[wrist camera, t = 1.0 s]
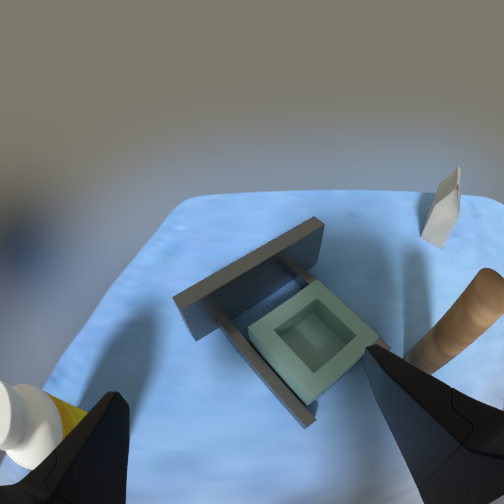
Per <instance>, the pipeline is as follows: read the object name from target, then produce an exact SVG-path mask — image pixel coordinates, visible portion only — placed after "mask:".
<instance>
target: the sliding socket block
mask: <svg viewBox="0 0 504 504" xmlns="http://www.w3.org/2000/svg"><path fill="white" fill-rule="evenodd" d="M248 334H249V343H250V345H251V346H252V347H253V348H254V350H255V351H256V352H257V353H258V354H259V356H260V357H261V358H262V359H263V360H264V361H265V363H266V364H267V365H268V366H269V367H270V368H271V370H272V371H273V372H274V373H275V374H276V375H277V376H278V378H279V379H280V380H281V381H282V382H283V383H284V384H285V386H286V387H287V388H288V389H289V390H290V391H291V392H292V393H293V394H294V396H295V397H296V398H297V399H298V400H299V401H300V402H301V403H302V404H303V405H304V406H305V408H306V407H307V406H308V405H309V404H311V403H312V402H313V401H314V400H315V399H317V398H318V397H319V396H320V395H321V394H323V393H324V392H325V391H326V390H327V389H328V388H330V387H331V386H332V385H333V384H334V383H335V382H336V381H337V380H339V379H340V378H341V377H342V376H343V375H344V374H345V373H346V372H347V371H348V370H349V369H350V368H352V367H353V366H354V365H355V364H356V363H357V362H358V361H359V360H360V359H361V358H362V357H363V356H364V353H365V348H366V347H367V346H370V345H373V344H374V343H375V342H376V341H377V339H378V338H379V337H380V336H379V335H378V334H377V333H376V332H375V331H374V330H373V329H371V328H370V327H369V326H368V325H367V324H366V323H365V322H364V321H363V320H362V319H361V318H360V317H358V316H357V315H356V314H355V313H354V312H353V311H352V310H351V309H350V308H349V307H348V306H346V305H345V304H344V303H343V302H342V301H341V300H340V299H339V298H338V297H337V296H335V295H334V294H333V293H332V292H331V291H330V290H329V289H328V288H327V287H326V286H324V285H323V284H322V283H321V282H320V281H319V280H318V279H317V280H315V281H314V282H312V283H311V284H310V285H308V286H307V287H305V288H304V289H303V290H301V291H300V292H298V293H297V294H296V295H294V296H293V297H291V298H290V299H288V300H287V301H286V302H284V303H283V304H281V305H280V306H278V307H277V308H275V309H274V310H272V311H271V312H269V313H268V314H267V315H265V316H264V317H262V318H261V319H259V320H258V321H256V322H255V323H253V324H252V325H250V326H249V327H248Z"/></svg>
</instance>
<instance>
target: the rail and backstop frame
mask: <svg viewBox="0 0 504 504" xmlns="http://www.w3.org/2000/svg"><path fill="white" fill-rule="evenodd" d="M324 225H325V224H324V223H322V222H321V221H320V220H318V219H317V218H316V217H312V218H310V219H309V220H307V221H305V222H303V223H302V224H300V225H298V226H296V227H295V228H293V229H291V230H289V231H288V232H286V233H284V234H282V235H281V236H279V237H277V238H275V239H274V240H272V241H270V242H268V243H267V244H265V245H263V246H261V247H259V248H258V249H256V250H254V251H252V252H251V253H249V254H247V255H245V256H244V257H242V258H240V259H238V260H237V261H235V262H233V263H231V264H230V265H228V266H226V267H224V268H223V269H221V270H219V271H217V272H216V273H214V274H212V275H210V276H209V277H207V278H205V279H203V280H202V281H200V282H198V283H196V284H195V285H193V286H191V287H189V288H188V289H186V290H184V291H182V292H181V293H179V294H177V295H175V296H174V297H172V298H173V300H174V302H175V304H176V306H177V308H178V310H179V312H180V314H181V316H182V318H183V321H184V323H185V325H186V327H187V329H188V330H189V332H190V333H191V335H192V336H193V338H194V339H195V341H198V340H199V339H201V338H203V337H204V336H206V335H208V334H209V333H211V332H212V331H214V330H216V329H217V328H220V329H221V331H222V332H223V333H224V334H225V336H226V337H227V338H228V340H229V341H230V342H231V343H232V345H233V346H234V347H235V349H236V350H237V351H238V352H239V354H240V355H241V356H242V357H243V359H244V360H245V361H246V362H247V363H248V365H249V366H250V367H251V368H252V370H253V371H254V372H255V373H256V374H257V376H258V377H259V378H260V379H261V380H262V382H263V383H264V384H265V385H266V386H267V388H268V389H269V390H270V391H271V392H272V393H273V395H274V396H275V397H276V398H277V399H278V400H279V401H280V403H281V404H282V405H283V406H284V407H285V408H286V409H287V410H288V412H289V413H290V414H291V415H292V416H293V417H294V418H295V419H296V420H297V422H298V423H299V424H300V425H301V426H302V427H303V428H304V429H306V428H307V427H308V426H309V425H311V424H312V423H313V422H314V421H316V420H317V419H316V418H315V417H314V416H313V415H312V414H311V413H310V412H309V411H308V410H307V409H306V408H305V407H304V406H303V404H302V403H301V402H300V401H299V400H298V399H297V398H296V397H295V396H294V395H293V393H292V392H291V391H290V390H289V389H288V388H287V387H286V386H285V385H284V383H283V382H282V381H281V380H280V379H279V378H278V377H277V375H276V374H275V373H274V372H273V371H272V370H271V369H270V367H269V366H268V365H267V364H266V363H265V362H264V360H263V359H262V358H261V357H260V356H259V355H258V353H257V352H256V351H255V350H254V349H253V347H252V346H251V345H250V344H249V343H248V341H247V340H246V339H245V338H244V337H243V335H242V334H241V333H240V332H239V330H238V329H237V328H236V327H235V326H234V324H233V323H232V322H231V321H230V320H232V319H233V318H235V317H236V316H238V315H240V314H241V313H243V312H244V311H246V310H247V309H249V308H250V307H252V306H254V305H255V304H257V303H258V302H260V301H261V300H263V299H264V298H266V297H267V296H269V295H270V294H272V293H274V292H275V291H277V290H278V289H280V288H281V287H283V286H284V285H286V284H287V283H289V282H290V281H291V280H293V279H294V280H295V281H296V282H297V283H298V284H299V285H300V286H301V287H302V288H303V289H304V288H305V287H307V286H308V285H310V284H311V283H312V282H314V281H315V280H316V279H315V278H314V277H313V276H312V275H311V274H310V273H308V272H307V271H306V270H308V269H309V268H311V267H312V266H313V265H315V264H316V263H317V261H318V256H319V251H320V246H321V241H322V236H323V230H324ZM374 344H378V345H380V346H381V347H383V348H385V349H387V350H388V351H389V350H390V349H391V348H390V347H389V346H388V345H387V344H386V343H385V342H384V341H383V340H382V339H381V338H380V337H379V338H378V339H377V341H376V342H375V343H374Z"/></svg>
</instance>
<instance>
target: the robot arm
mask: <svg viewBox="0 0 504 504" xmlns="http://www.w3.org/2000/svg"><path fill="white" fill-rule="evenodd" d="M364 368H365V371H366V374H367V376H368V379H369V382H370V385H371V387H372V390H373V393H374V396H375V398H376V401H377V404H378V406H379V408H380V410H381V412H382V414H383V416H384V418H385V420H386V422H387V424H388V426H389V428H390V430H391V432H392V434H393V436H394V438H395V440H396V442H397V445H398V447H399V449H400V451H401V453H402V455H403V457H404V459H405V461H406V464H407V466H408V468H409V470H410V472H411V475H412V477H413V479H414V481H415V483H416V486H417V488H418V491H419V493H420V495H421V497H422V500H423V502H424V504H504V411H502V410H500V409H497V408H495V407H492V406H490V405H487V404H485V403H482V402H480V401H478V400H475V399H473V398H471V397H469V396H467V395H465V394H463V393H461V392H459V391H458V390H456V389H454V388H451V387H450V386H449V385H447V384H445V383H443V382H442V381H440V380H438V379H436V378H435V377H433V376H431V375H430V374H428V373H426V372H424V371H423V370H421V369H419V368H417V367H416V366H414V365H412V364H411V363H409V362H407V361H405V360H404V359H402V358H400V357H399V356H397V355H395V354H393V353H392V352H390V351H388V350H387V349H385V348H383V347H381V346H380V345H378V344H373V345H370V346H367V347H366V348H365V353H364ZM129 414H130V409H129V405H128V403H127V402H126V401H125V400H124V398H123V397H122V396H121V394H120V393H119V392H117V391H110V392H107V393H106V394H105V395H104V397H103V398H102V399H101V400H100V401H99V402H98V403H97V404H96V405H95V406H94V407H93V408H92V409H91V410H90V411H89V412H88V414H87V415H86V416H85V417H84V418H83V419H82V420H81V421H80V422H79V423H78V424H77V425H76V426H75V427H74V429H73V430H72V431H71V432H70V433H69V434H68V435H67V436H66V437H65V438H64V439H63V440H62V441H61V442H60V444H59V445H58V446H57V447H56V448H55V449H54V450H53V451H52V452H51V453H50V454H49V455H48V456H47V457H46V458H45V459H44V460H43V461H42V462H41V463H40V464H39V465H38V466H37V467H36V468H35V469H34V470H32V471H31V472H30V473H29V474H28V475H27V476H26V477H24V478H23V479H22V480H21V481H20V482H18V483H16V484H13V485H5V486H0V504H126V482H127V466H128V454H129Z"/></svg>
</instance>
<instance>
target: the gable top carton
mask: <svg viewBox="0 0 504 504" xmlns="http://www.w3.org/2000/svg"><path fill="white" fill-rule="evenodd" d="M459 206H460V168H459V167H458V168H457V169H456V170H455V171H454V172H453V173H452V174H451V175H450V176H449V177H447V178H446V179H445V180H444V181H443V182H441V183H440V185H439V187H438V190H437V193H436V195H435V198H434V200H433V203H432V205H431V207H430V210H429V212H428V215H427V218H426V221H425V225H424V228H423V231H422V234H421V237H420V238H422V239H423V240H425V241H427V242H429V243H431V244H433V245H435V246H436V247H438V248H440V249H442V248H443V246H444V244H445V242H446V240H447V239H448V237H449V235H450V233H451V231H452V229H453V227H454V225H455V223H456V221H457V219H458V216H459Z"/></svg>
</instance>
